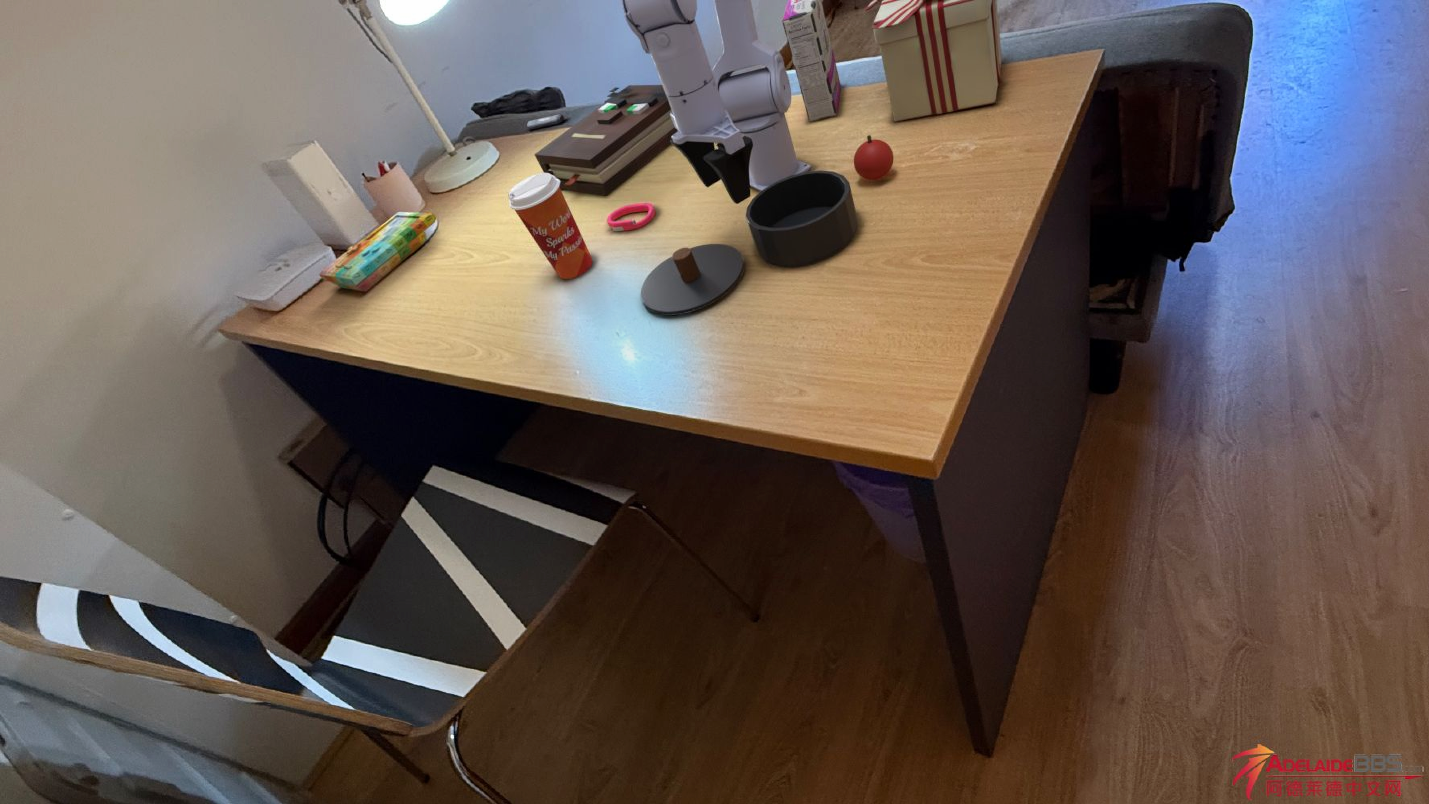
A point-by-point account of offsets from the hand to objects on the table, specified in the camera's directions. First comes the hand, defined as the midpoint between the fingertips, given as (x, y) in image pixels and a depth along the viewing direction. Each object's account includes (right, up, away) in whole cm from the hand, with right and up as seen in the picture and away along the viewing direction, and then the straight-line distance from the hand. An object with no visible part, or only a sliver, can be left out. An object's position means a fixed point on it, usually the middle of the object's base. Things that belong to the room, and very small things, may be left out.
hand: (727, 190), depth 89 cm
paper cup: (-22, -6, +19) cm, 30 cm away
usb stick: (-39, +36, +71) cm, 89 cm away
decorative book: (-18, +20, +44) cm, 51 cm away
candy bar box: (+17, +23, +30) cm, 42 cm away
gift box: (+32, +20, +19) cm, 42 cm away
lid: (-5, -10, +4) cm, 12 cm away
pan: (+10, -5, +4) cm, 12 cm away
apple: (+20, +6, +7) cm, 22 cm away
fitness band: (-14, +2, +24) cm, 28 cm away
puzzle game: (-63, 0, +46) cm, 78 cm away
